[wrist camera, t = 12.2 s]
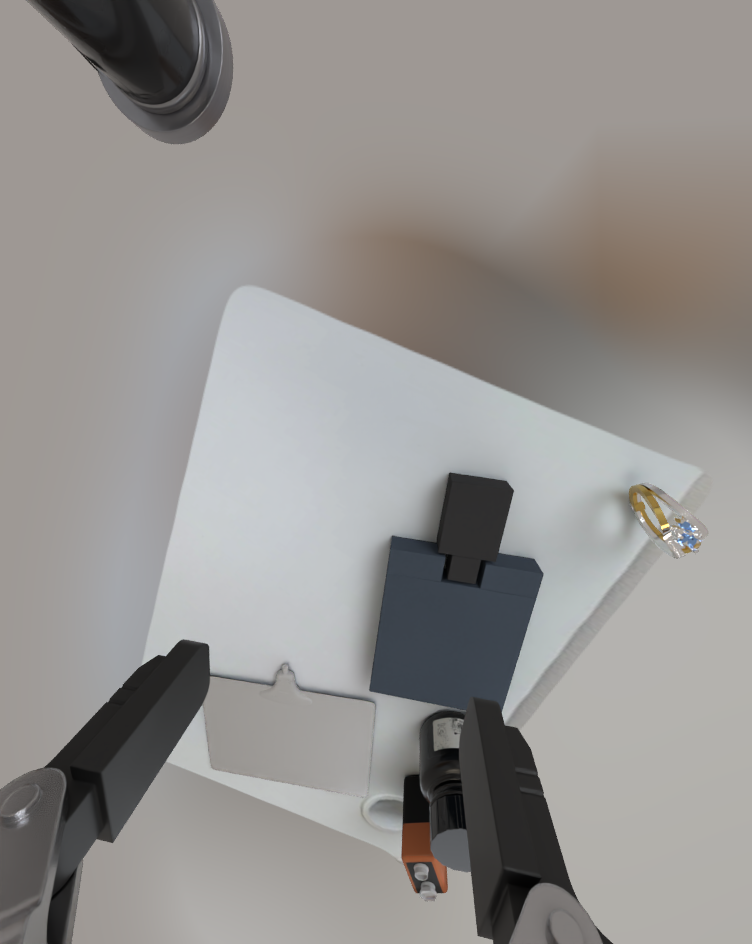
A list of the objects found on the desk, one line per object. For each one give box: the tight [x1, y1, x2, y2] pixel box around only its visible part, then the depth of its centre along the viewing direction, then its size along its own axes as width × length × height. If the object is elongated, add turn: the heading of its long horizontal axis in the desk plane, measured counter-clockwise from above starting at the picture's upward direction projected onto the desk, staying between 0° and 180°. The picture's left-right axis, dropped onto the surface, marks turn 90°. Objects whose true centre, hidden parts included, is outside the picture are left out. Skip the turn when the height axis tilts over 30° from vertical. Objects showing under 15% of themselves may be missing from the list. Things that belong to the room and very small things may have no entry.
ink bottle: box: [419, 711, 471, 872], centre depth 41 cm, size 10×9×12 cm
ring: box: [629, 483, 708, 559], centre depth 32 cm, size 7×3×8 cm, turn 25°
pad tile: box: [437, 473, 514, 584], centre depth 37 cm, size 11×6×3 cm, turn 173°
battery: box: [402, 776, 448, 901], centre depth 46 cm, size 4×7×10 cm, turn 17°
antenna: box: [203, 664, 375, 798], centre depth 50 cm, size 25×24×1 cm
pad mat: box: [369, 536, 544, 713], centre depth 41 cm, size 20×16×3 cm
